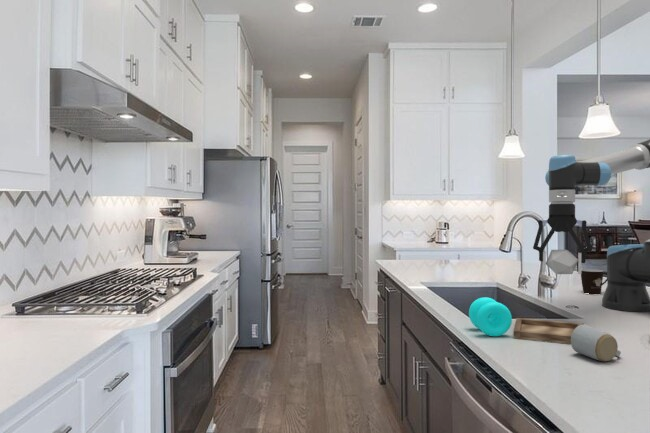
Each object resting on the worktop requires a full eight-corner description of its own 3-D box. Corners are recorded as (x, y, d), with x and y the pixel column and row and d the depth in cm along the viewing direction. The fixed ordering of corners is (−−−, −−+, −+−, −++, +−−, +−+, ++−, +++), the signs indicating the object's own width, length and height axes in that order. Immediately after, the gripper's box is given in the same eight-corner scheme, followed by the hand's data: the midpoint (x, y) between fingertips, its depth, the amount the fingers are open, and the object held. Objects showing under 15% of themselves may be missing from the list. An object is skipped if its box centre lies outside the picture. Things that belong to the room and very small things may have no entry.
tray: (583, 330, 130) (583, 323, 130) (589, 346, 116) (589, 338, 116) (516, 324, 139) (516, 317, 139) (513, 338, 124) (513, 330, 124)
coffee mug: (583, 295, 184) (583, 271, 183) (577, 291, 192) (577, 268, 192) (615, 296, 180) (614, 272, 180) (608, 292, 188) (607, 269, 188)
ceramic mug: (597, 364, 102) (597, 333, 102) (569, 354, 110) (569, 325, 109) (630, 360, 105) (630, 330, 105) (601, 350, 112) (601, 322, 112)
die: (575, 278, 135) (586, 252, 138) (549, 264, 136) (560, 239, 139) (562, 283, 143) (573, 259, 145) (537, 270, 144) (548, 246, 147)
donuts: (478, 337, 125) (478, 303, 125) (467, 328, 135) (467, 296, 135) (513, 337, 125) (513, 302, 125) (500, 328, 135) (499, 296, 135)
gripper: (523, 203, 143) (523, 271, 143) (603, 202, 132) (603, 276, 133) (525, 203, 149) (524, 269, 149) (600, 203, 139) (600, 273, 139)
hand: (561, 272), depth 141 cm, fingers closed on die, 9 cm apart
